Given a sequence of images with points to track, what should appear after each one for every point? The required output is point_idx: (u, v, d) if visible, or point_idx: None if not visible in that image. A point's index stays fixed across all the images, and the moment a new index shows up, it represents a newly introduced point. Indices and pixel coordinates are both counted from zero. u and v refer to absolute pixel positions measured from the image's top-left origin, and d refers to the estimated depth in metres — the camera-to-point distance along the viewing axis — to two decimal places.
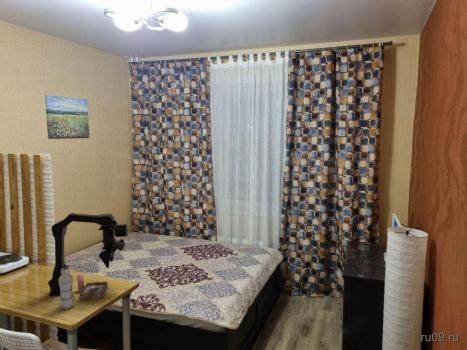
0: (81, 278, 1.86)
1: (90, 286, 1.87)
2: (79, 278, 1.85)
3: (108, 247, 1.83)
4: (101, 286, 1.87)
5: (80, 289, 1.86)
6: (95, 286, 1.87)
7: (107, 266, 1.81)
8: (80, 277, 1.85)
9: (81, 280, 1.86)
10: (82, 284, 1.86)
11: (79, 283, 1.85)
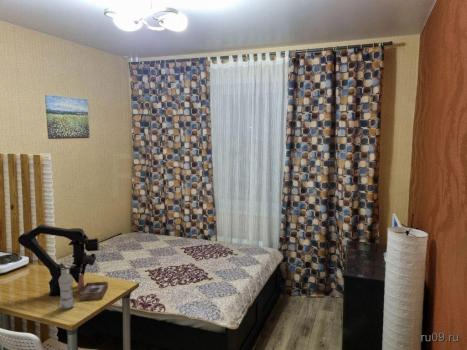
0: (81, 278, 1.86)
1: (90, 286, 1.87)
2: (79, 278, 1.85)
3: (79, 262, 1.83)
4: (101, 286, 1.87)
5: (80, 289, 1.86)
6: (95, 286, 1.87)
7: (77, 281, 1.82)
8: (80, 277, 1.85)
9: (81, 280, 1.86)
10: (82, 284, 1.86)
11: (79, 283, 1.85)
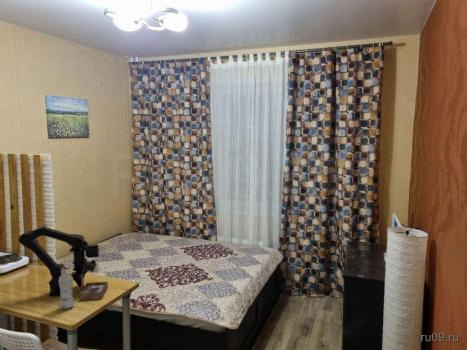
0: None
1: (90, 286, 1.87)
2: None
3: (79, 268, 1.83)
4: (101, 286, 1.87)
5: (80, 289, 1.86)
6: (95, 286, 1.87)
7: (79, 285, 1.85)
8: None
9: None
10: (82, 284, 1.86)
11: None
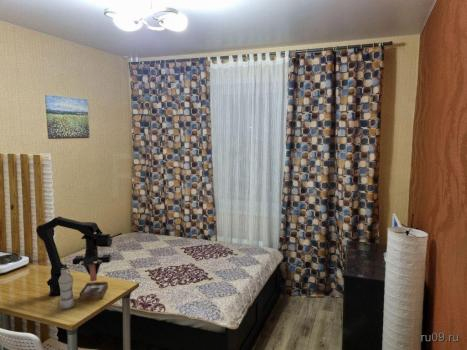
0: None
1: (90, 286, 1.87)
2: None
3: None
4: (101, 286, 1.87)
5: None
6: (95, 286, 1.87)
7: None
8: None
9: None
10: (90, 273, 1.81)
11: None
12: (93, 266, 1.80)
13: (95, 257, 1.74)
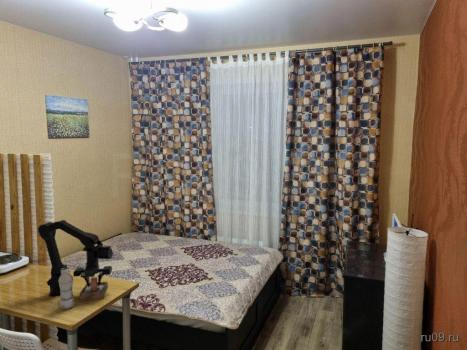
0: (91, 281, 1.81)
1: (90, 286, 1.87)
2: None
3: None
4: (101, 286, 1.87)
5: None
6: None
7: None
8: (91, 279, 1.82)
9: (91, 283, 1.81)
10: (91, 288, 1.81)
11: None
12: (94, 281, 1.81)
13: (96, 269, 1.75)
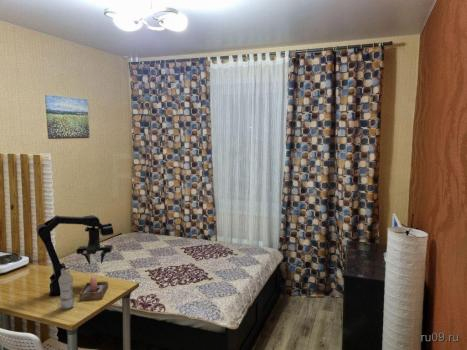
0: (90, 281, 1.81)
1: (90, 286, 1.87)
2: None
3: None
4: (101, 286, 1.87)
5: None
6: None
7: None
8: (90, 280, 1.82)
9: None
10: (91, 288, 1.81)
11: None
12: (94, 281, 1.81)
13: (97, 247, 1.87)
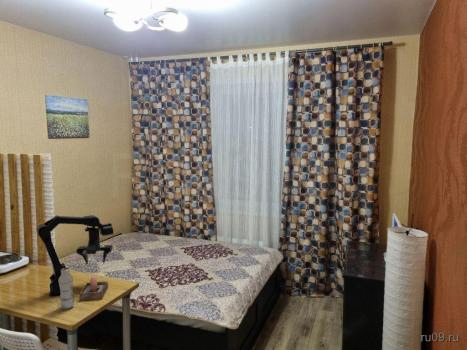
0: (90, 281, 1.81)
1: (90, 286, 1.87)
2: None
3: None
4: (101, 286, 1.87)
5: None
6: None
7: None
8: None
9: None
10: (91, 288, 1.81)
11: None
12: (94, 281, 1.81)
13: (97, 247, 1.87)
